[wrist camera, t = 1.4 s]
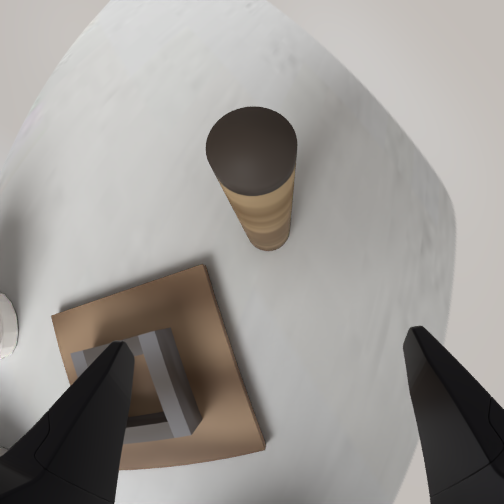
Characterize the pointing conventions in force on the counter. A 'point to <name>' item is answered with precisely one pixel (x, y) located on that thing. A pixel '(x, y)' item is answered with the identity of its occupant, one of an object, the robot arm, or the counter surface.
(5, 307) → the white cup
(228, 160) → the wooden peg
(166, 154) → the counter surface
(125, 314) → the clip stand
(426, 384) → the robot arm
